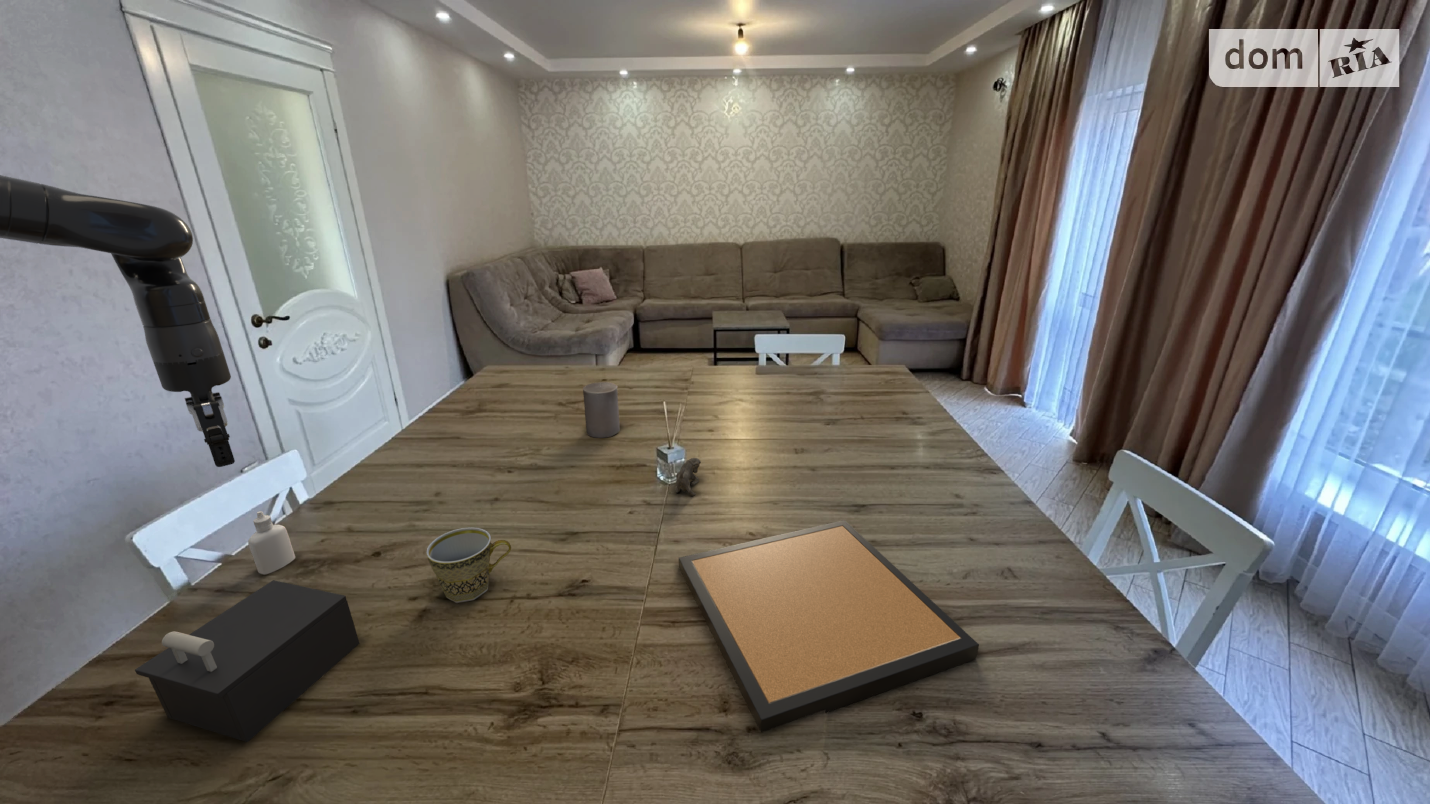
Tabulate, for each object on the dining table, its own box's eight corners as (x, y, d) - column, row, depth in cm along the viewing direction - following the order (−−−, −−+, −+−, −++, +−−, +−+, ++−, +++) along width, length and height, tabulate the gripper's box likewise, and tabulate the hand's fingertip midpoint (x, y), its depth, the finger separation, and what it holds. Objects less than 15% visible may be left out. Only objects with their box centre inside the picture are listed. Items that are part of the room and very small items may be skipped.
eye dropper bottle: (258, 568, 102) (238, 512, 98) (295, 556, 106) (277, 501, 101) (260, 580, 99) (239, 522, 95) (298, 567, 102) (280, 511, 98)
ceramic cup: (431, 617, 90) (420, 567, 87) (442, 579, 99) (432, 531, 96) (515, 603, 93) (507, 553, 90) (518, 567, 102) (511, 520, 99)
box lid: (219, 698, 65) (205, 665, 63) (136, 674, 69) (120, 642, 67) (347, 599, 81) (338, 570, 79) (274, 584, 84) (264, 555, 83)
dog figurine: (694, 501, 124) (694, 472, 121) (670, 498, 125) (669, 469, 123) (706, 476, 135) (706, 449, 132) (684, 474, 136) (683, 447, 133)
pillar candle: (585, 427, 164) (580, 379, 158) (618, 423, 166) (614, 376, 161) (588, 440, 155) (583, 390, 150) (622, 435, 158) (619, 386, 153)
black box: (249, 746, 69) (226, 693, 66) (169, 721, 72) (144, 669, 69) (360, 646, 84) (347, 600, 81) (290, 629, 88) (274, 584, 85)
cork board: (843, 531, 113) (678, 570, 101) (844, 519, 112) (678, 557, 100) (975, 659, 82) (760, 736, 70) (979, 644, 81) (761, 720, 69)
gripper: (150, 348, 81) (186, 449, 87) (153, 369, 71) (193, 480, 77) (217, 340, 86) (247, 435, 92) (228, 358, 76) (260, 463, 82)
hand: (222, 455), depth 84 cm, fingers open, 8 cm apart
